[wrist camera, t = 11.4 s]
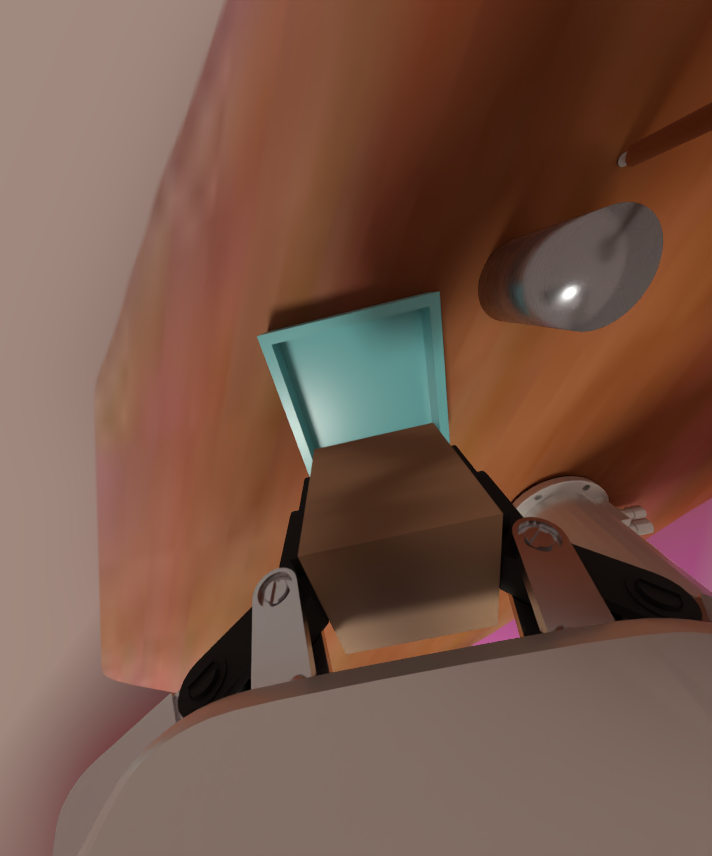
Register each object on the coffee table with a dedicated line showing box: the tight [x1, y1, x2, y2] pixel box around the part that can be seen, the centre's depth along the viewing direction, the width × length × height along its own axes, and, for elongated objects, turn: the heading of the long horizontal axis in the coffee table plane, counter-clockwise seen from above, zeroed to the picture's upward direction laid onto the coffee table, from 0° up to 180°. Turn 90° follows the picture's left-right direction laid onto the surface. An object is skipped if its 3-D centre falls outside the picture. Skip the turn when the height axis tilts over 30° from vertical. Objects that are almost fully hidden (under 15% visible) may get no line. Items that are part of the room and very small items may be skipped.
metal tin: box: [478, 202, 663, 332], centre depth 18 cm, size 6×6×8 cm
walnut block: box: [298, 423, 503, 654], centre depth 10 cm, size 5×5×5 cm
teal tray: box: [257, 291, 450, 476], centre depth 23 cm, size 14×14×3 cm
